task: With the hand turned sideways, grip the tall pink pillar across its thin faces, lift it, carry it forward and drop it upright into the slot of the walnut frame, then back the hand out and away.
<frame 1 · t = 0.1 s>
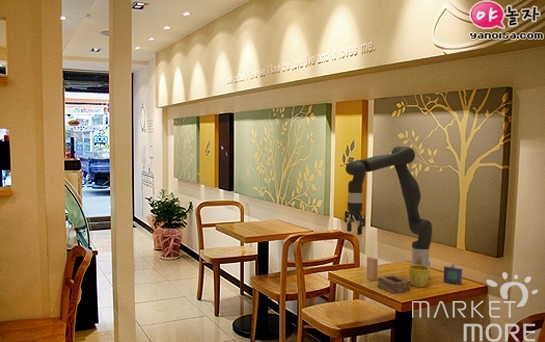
hand: (354, 233, 240), 29 cm above the table, tool pointing down, fingers open, 8 cm apart
plant pot: (418, 285, 250), on the table
walnut frame: (393, 288, 244), on the table
tall pink pillar: (371, 279, 260), on the table
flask: (452, 283, 254), on the table
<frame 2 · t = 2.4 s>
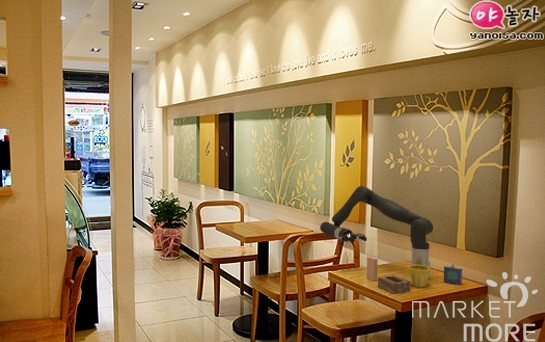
hand: (360, 240, 269), 20 cm above the table, tool horizontal, fingers open, 8 cm apart
nothing on the table moved.
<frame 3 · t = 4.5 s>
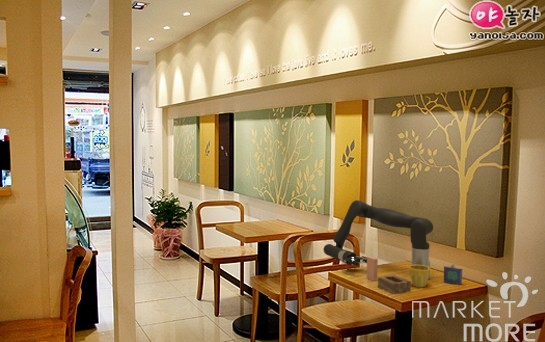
hand: (364, 263, 266), 7 cm above the table, tool horizontal, fingers open, 8 cm apart
nothing on the table moved.
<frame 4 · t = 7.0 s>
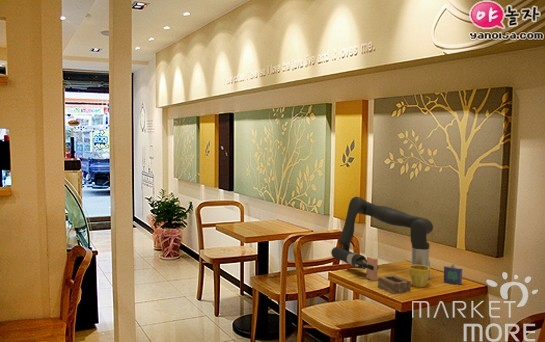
hand: (375, 268, 257), 7 cm above the table, tool horizontal, fingers closed on tall pink pillar, 2 cm apart
tall pink pillar: (371, 279, 260), on the table, touching gripper
everything else where it was.
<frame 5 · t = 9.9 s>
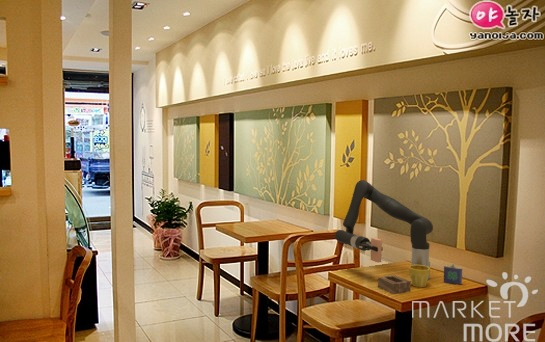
hand: (379, 249, 254), 18 cm above the table, tool horizontal, fingers closed on tall pink pillar, 2 cm apart
tall pink pillar: (375, 260, 257), point 11 cm above the table, touching gripper
everything else where it was.
when the fingers open (12 cm above the table, at t = 12.7 s): tall pink pillar drops 5 cm, resting in walnut frame.
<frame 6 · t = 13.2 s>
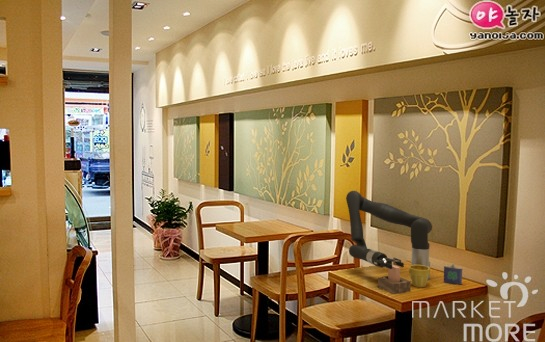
hand: (397, 266, 241), 13 cm above the table, tool horizontal, fingers open, 7 cm apart
tall pink pillar: (393, 289, 244), resting in walnut frame
everything else where it was.
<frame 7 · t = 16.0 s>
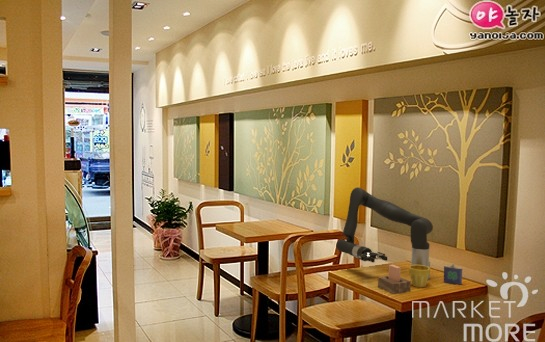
hand: (380, 259, 253), 13 cm above the table, tool horizontal, fingers open, 8 cm apart
nothing on the table moved.
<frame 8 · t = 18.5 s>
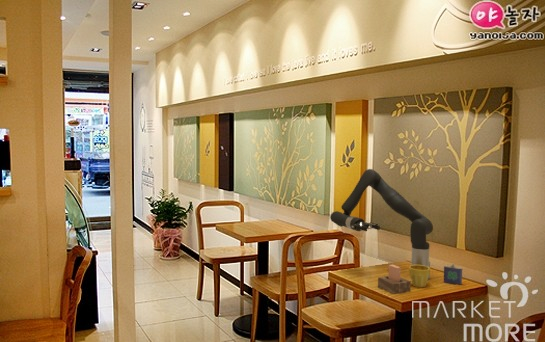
hand: (373, 228, 258), 28 cm above the table, tool horizontal, fingers open, 8 cm apart
nothing on the table moved.
at the end: tall pink pillar inside the target area on the walnut frame (0.1 cm from its centre), point 0.0 cm above the walnut frame's base; tall pink pillar tilted 0°; the gripper is holding nothing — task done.
